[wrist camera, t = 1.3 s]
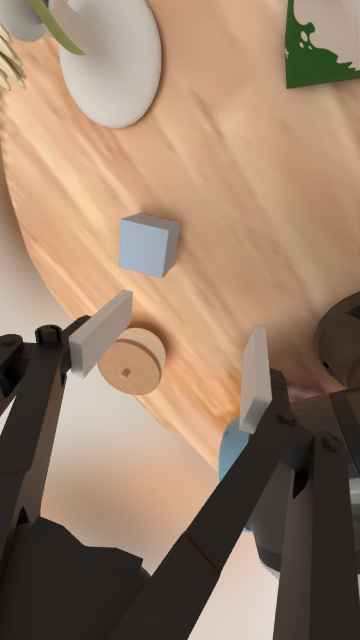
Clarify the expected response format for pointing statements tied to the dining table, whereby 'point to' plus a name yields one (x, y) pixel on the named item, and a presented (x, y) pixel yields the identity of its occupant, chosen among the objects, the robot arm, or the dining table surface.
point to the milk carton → (322, 41)
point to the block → (148, 244)
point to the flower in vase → (91, 52)
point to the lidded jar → (134, 362)
